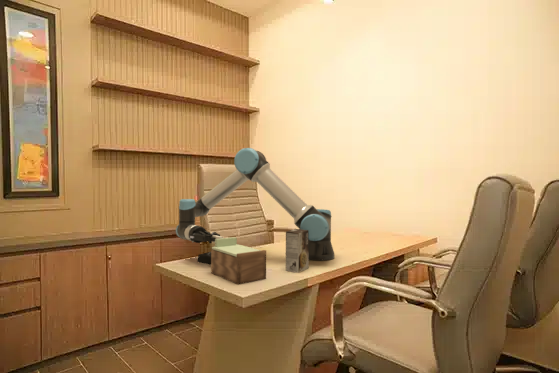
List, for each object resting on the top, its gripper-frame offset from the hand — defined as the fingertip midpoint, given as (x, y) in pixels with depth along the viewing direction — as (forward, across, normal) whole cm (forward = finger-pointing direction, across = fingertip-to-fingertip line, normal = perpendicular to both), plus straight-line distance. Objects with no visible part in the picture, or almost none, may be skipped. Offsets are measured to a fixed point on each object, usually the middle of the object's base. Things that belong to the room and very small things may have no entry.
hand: (221, 240), depth 142 cm
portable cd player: (-12, -9, -12) cm, 20 cm away
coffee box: (+19, -25, -12) cm, 33 cm away
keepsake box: (+13, 0, -12) cm, 17 cm away
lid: (+12, 0, -3) cm, 12 cm away
